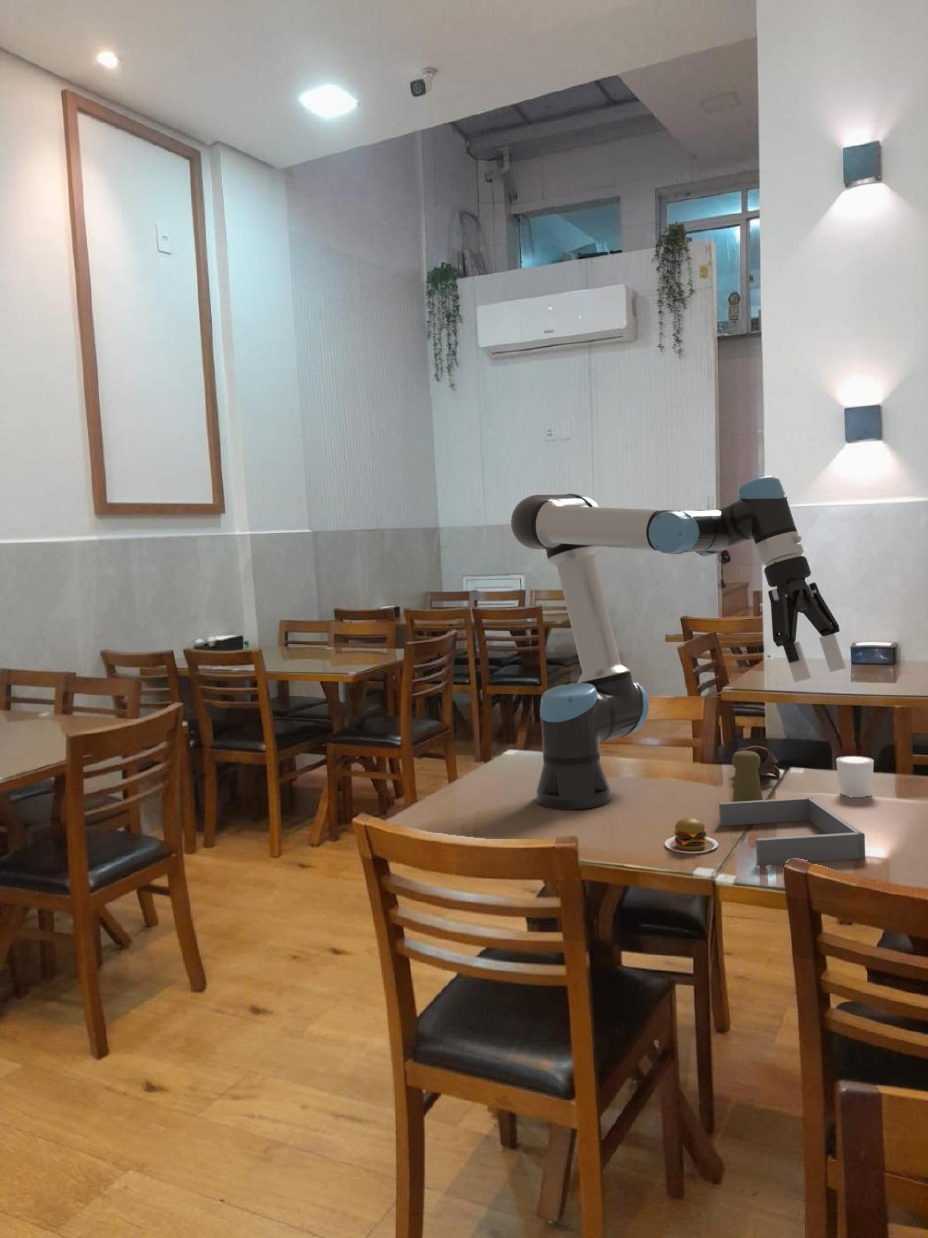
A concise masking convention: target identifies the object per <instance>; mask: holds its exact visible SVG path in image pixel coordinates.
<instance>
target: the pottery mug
mask: <svg viewBox="0 0 928 1238" xmlns="http://www.w3.org/2000/svg"><path fill="white" fill-rule="evenodd" d="M739 751H752V752H756V753H757V754H758V755H759V757H760V766H759V768H758V774H759V779H760V778H761V777H764V776H766V775H768V774H772V775H774V776H775V777H777V778H779V779H780V776H781V772H780V768H778V767H777V766H776V765H775V764H779V760H778V759H777V757H776V756H775V755H774V754H773V753H772V752H771V751H770V750H769V749H768V748H767V747H765V746H762V745H761V746H759V745H751V746H748V747H738V748H737V750H736V751H735V753H736V752H739Z"/></svg>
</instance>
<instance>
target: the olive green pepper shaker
mask: <svg viewBox="0 0 928 1238" xmlns="http://www.w3.org/2000/svg"><path fill="white" fill-rule="evenodd" d="M731 763H732V766H733V768H734V769H735V770H734V778H733V779H734V782H733V788H732V789H733V791H732V800H731V802H740V801H757V800H764V798H763V792H762V787H761V780H760V778H759V774H758V768H759V766H760V757H759V755H758V754H757V753H756V752H752V751H739V752H736V751H735V752H734V754H733V755H732V758H731Z"/></svg>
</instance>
